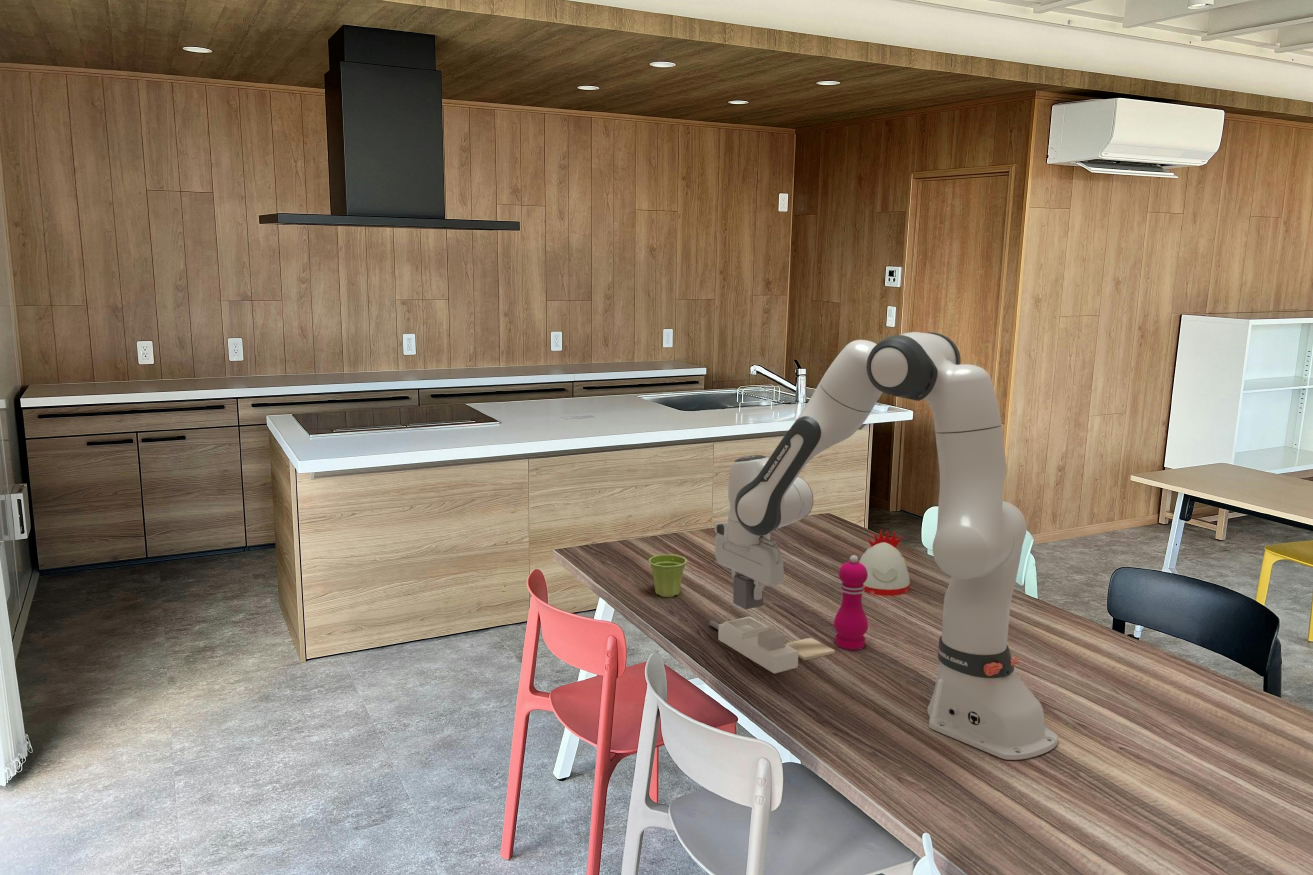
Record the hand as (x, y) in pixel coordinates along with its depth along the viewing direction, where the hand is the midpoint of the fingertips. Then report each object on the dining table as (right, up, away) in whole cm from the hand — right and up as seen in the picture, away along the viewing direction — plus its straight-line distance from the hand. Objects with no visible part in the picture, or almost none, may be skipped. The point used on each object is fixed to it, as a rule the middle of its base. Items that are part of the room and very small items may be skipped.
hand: (748, 594), depth 195 cm
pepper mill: (+22, -12, +4) cm, 25 cm away
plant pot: (-17, -6, +35) cm, 39 cm away
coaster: (+13, -12, +1) cm, 17 cm away
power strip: (0, -12, +2) cm, 12 cm away
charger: (0, -2, 0) cm, 2 cm away
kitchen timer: (+38, -5, +41) cm, 57 cm away
